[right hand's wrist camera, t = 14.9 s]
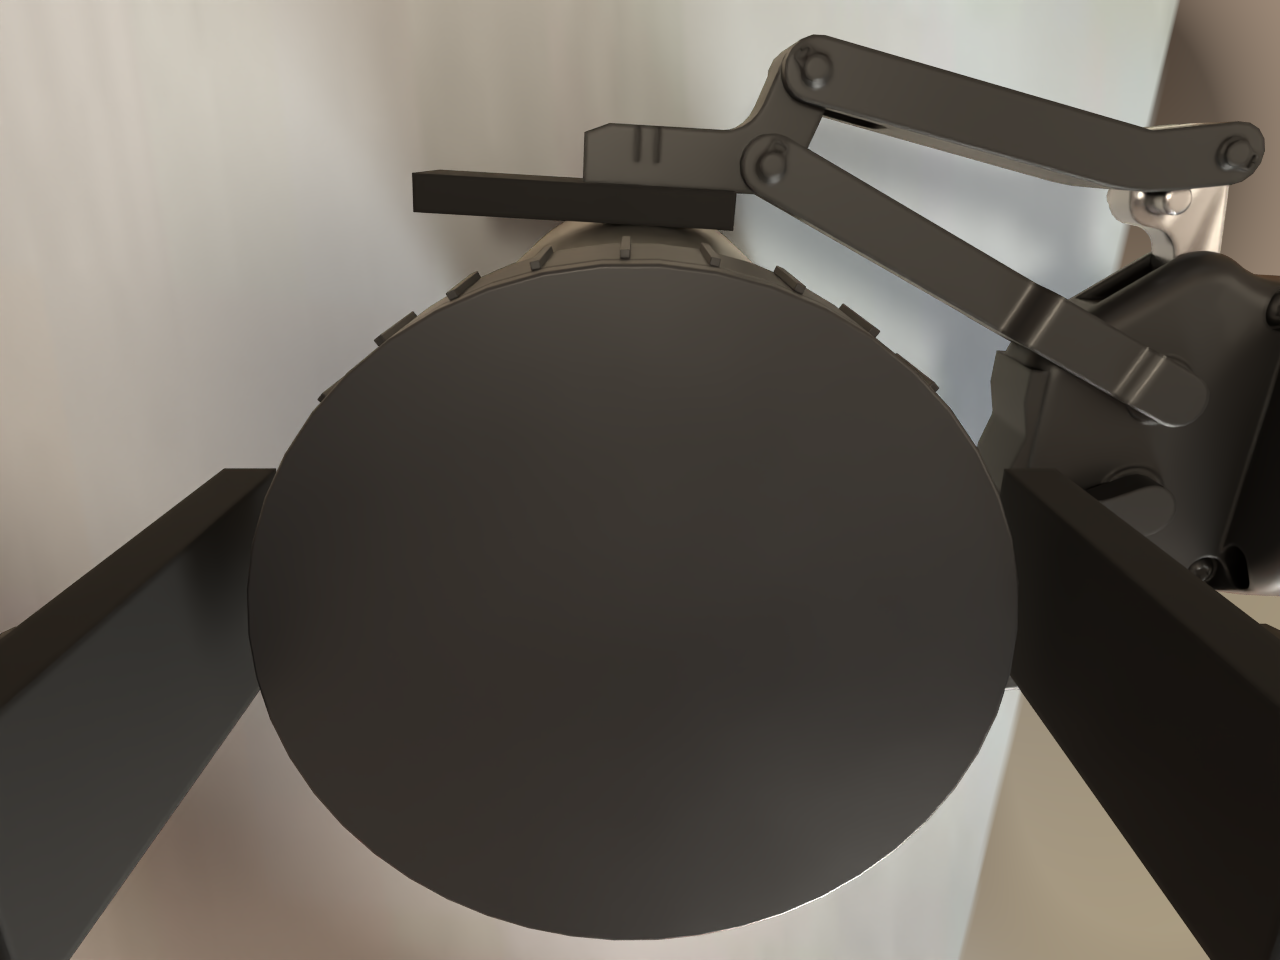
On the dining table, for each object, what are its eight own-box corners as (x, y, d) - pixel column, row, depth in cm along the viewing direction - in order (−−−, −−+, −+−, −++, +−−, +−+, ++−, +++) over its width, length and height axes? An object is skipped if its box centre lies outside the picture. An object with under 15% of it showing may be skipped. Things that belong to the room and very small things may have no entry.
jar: (801, 233, 26) (1075, 374, 10) (736, 494, 29) (864, 932, 13) (518, 175, 25) (314, 224, 9) (481, 448, 28) (276, 847, 12)
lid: (1060, 313, 11) (1151, 348, 9) (857, 871, 14) (893, 987, 12) (327, 166, 10) (255, 170, 9) (286, 786, 14) (228, 894, 12)
